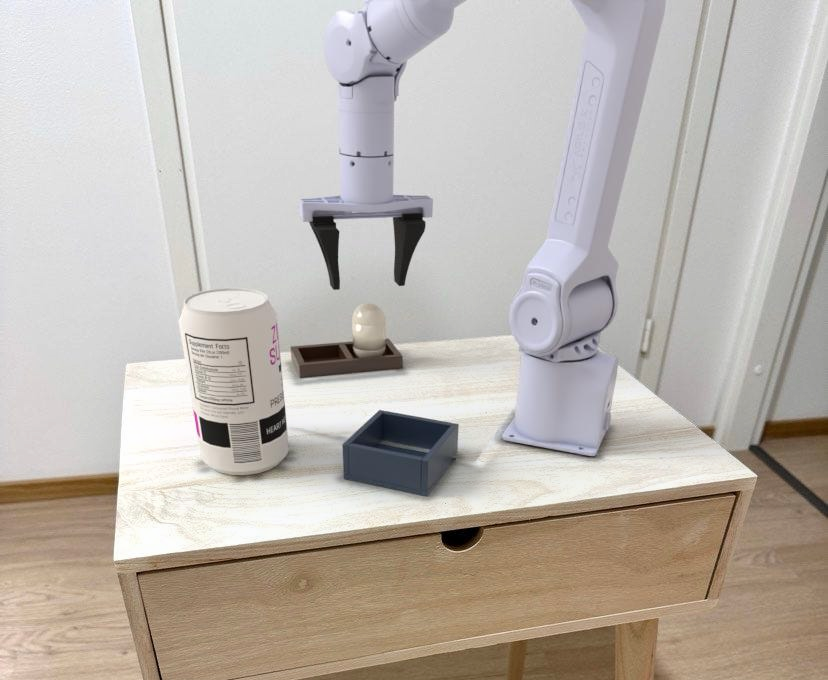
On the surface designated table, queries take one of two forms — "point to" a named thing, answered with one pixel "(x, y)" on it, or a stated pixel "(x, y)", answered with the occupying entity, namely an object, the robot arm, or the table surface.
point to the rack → (341, 359)
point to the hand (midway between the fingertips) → (367, 285)
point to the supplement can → (235, 379)
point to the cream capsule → (369, 330)
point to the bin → (400, 452)
